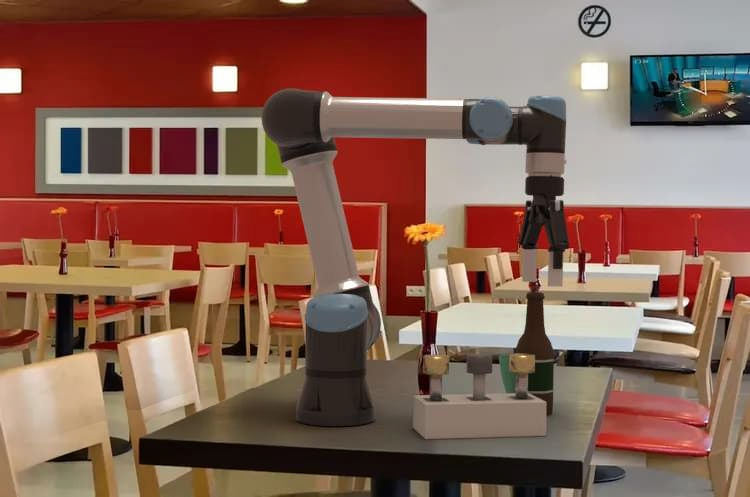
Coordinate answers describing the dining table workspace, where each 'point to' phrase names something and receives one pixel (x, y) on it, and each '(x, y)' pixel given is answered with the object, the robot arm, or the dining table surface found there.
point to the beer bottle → (538, 351)
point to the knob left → (436, 373)
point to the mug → (507, 374)
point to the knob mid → (479, 373)
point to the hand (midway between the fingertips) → (541, 284)
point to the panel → (479, 416)
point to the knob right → (522, 372)
